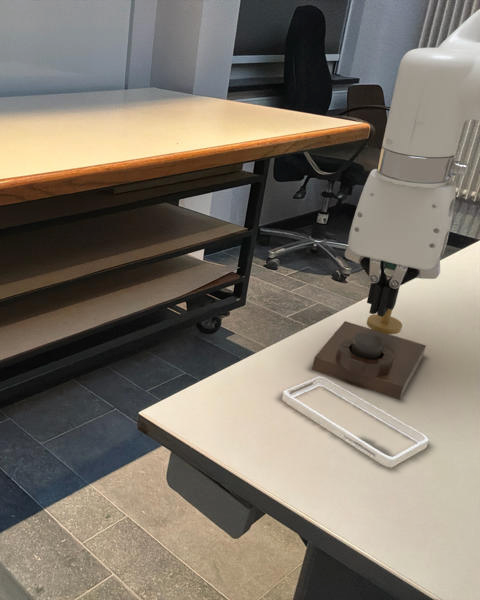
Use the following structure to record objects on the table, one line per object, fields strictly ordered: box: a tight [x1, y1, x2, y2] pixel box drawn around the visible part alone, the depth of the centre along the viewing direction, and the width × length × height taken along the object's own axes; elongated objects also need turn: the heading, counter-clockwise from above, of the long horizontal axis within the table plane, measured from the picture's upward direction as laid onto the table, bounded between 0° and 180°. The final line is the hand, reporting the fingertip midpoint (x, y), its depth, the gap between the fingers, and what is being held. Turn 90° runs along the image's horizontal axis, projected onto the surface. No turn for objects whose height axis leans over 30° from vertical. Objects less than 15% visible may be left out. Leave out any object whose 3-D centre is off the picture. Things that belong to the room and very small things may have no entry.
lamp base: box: [311, 320, 427, 401], centre depth 90 cm, size 11×14×4 cm
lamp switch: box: [351, 333, 384, 360], centre depth 86 cm, size 4×4×2 cm
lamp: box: [366, 262, 403, 335], centre depth 89 cm, size 7×7×14 cm
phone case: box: [281, 375, 430, 469], centre depth 79 cm, size 7×1×15 cm
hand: (379, 310), depth 84 cm, fingers closed
